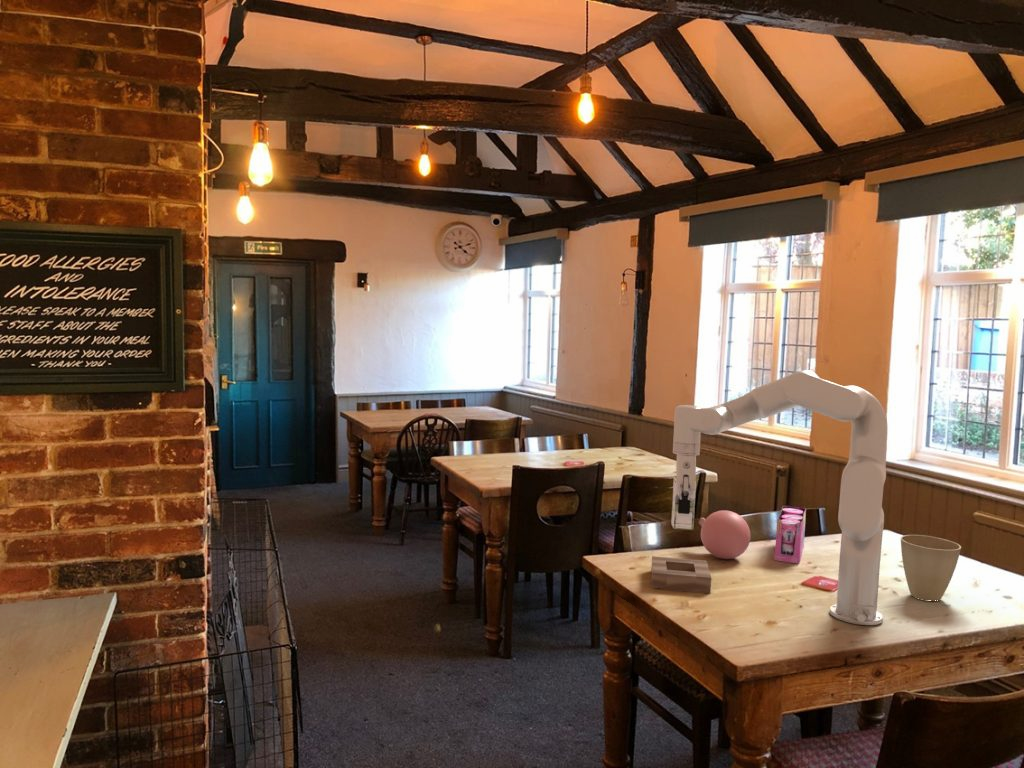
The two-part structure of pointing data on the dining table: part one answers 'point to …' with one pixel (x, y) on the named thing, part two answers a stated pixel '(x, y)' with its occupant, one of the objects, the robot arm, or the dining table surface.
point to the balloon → (725, 534)
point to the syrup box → (677, 518)
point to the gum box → (790, 534)
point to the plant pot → (928, 565)
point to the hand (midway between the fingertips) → (683, 510)
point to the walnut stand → (681, 574)
